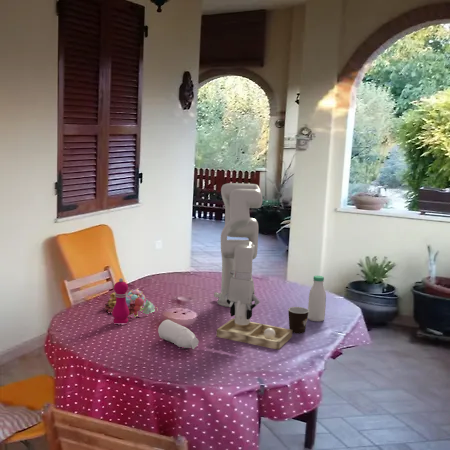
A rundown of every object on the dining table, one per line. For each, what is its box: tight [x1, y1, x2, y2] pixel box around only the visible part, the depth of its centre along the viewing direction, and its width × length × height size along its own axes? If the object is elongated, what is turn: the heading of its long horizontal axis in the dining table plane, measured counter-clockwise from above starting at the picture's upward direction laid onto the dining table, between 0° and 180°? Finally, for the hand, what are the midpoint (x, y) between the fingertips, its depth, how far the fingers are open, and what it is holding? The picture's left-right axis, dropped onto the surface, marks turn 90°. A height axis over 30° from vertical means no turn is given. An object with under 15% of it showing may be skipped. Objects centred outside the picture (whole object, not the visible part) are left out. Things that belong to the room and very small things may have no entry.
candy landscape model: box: [103, 288, 158, 317], centre depth 273 cm, size 25×24×9 cm
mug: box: [234, 301, 251, 325], centre depth 243 cm, size 10×7×12 cm, turn 158°
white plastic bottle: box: [157, 319, 200, 350], centre depth 232 cm, size 8×19×8 cm, turn 42°
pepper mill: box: [111, 277, 129, 324], centre depth 253 cm, size 7×7×20 cm
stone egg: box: [264, 328, 276, 340], centre depth 239 cm, size 5×5×5 cm
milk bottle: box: [307, 275, 327, 322], centre depth 267 cm, size 8×8×20 cm
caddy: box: [216, 317, 293, 351], centre depth 242 cm, size 27×16×4 cm, turn 65°
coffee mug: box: [287, 306, 309, 335], centre depth 251 cm, size 12×9×10 cm
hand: (240, 316), depth 243 cm, fingers closed on mug, 6 cm apart
